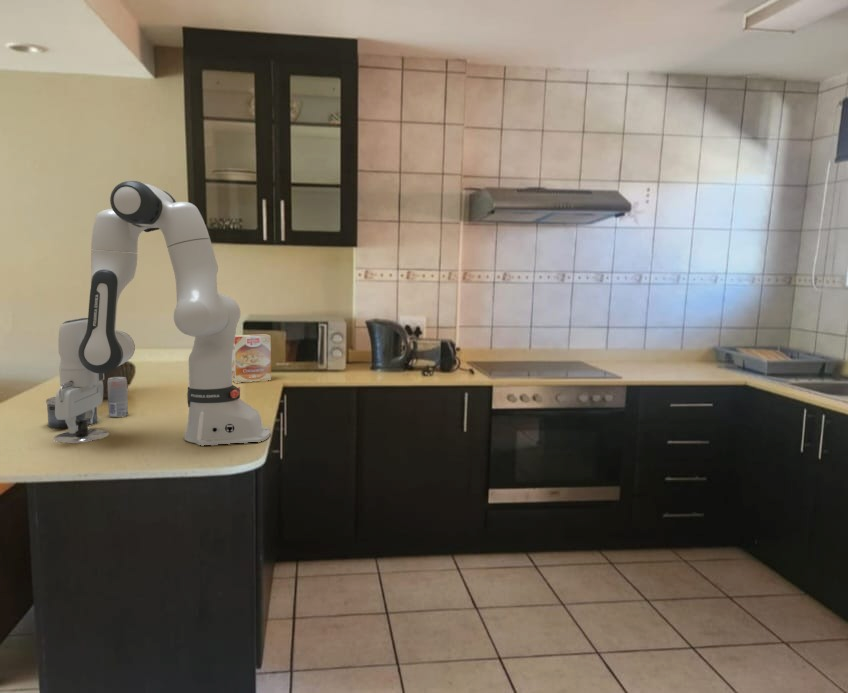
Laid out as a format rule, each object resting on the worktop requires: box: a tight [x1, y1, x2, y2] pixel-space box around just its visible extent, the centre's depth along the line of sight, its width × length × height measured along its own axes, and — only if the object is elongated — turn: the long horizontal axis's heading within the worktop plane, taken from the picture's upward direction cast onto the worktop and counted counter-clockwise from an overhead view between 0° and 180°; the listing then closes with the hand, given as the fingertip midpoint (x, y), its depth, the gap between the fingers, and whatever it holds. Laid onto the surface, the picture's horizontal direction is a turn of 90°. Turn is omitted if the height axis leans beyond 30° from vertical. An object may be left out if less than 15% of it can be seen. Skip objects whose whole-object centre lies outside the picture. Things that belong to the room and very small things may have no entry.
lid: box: [53, 420, 110, 444], centre depth 167 cm, size 13×13×5 cm
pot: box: [45, 396, 98, 430], centre depth 181 cm, size 13×18×8 cm
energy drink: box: [107, 376, 129, 418], centre depth 191 cm, size 5×5×12 cm
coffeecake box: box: [232, 333, 272, 384], centre depth 257 cm, size 15×7×20 cm, turn 120°
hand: (81, 428), depth 167 cm, fingers open, 7 cm apart
